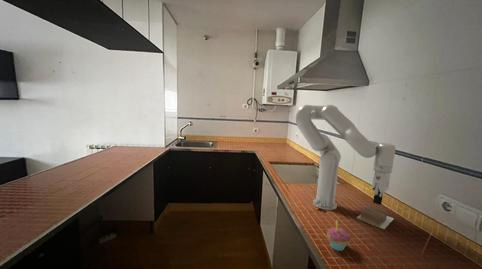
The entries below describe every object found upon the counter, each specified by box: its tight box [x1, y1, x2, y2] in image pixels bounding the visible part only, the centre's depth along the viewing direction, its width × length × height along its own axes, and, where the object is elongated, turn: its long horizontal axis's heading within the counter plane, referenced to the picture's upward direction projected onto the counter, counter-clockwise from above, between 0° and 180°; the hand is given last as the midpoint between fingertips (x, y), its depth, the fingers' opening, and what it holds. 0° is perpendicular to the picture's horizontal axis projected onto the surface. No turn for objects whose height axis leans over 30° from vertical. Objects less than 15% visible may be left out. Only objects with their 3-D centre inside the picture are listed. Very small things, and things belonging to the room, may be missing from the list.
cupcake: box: [326, 219, 351, 252], centre depth 80 cm, size 9×8×12 cm
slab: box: [359, 205, 388, 228], centre depth 101 cm, size 4×8×12 cm
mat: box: [356, 214, 395, 230], centre depth 104 cm, size 16×12×1 cm
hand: (377, 203), depth 102 cm, fingers closed
